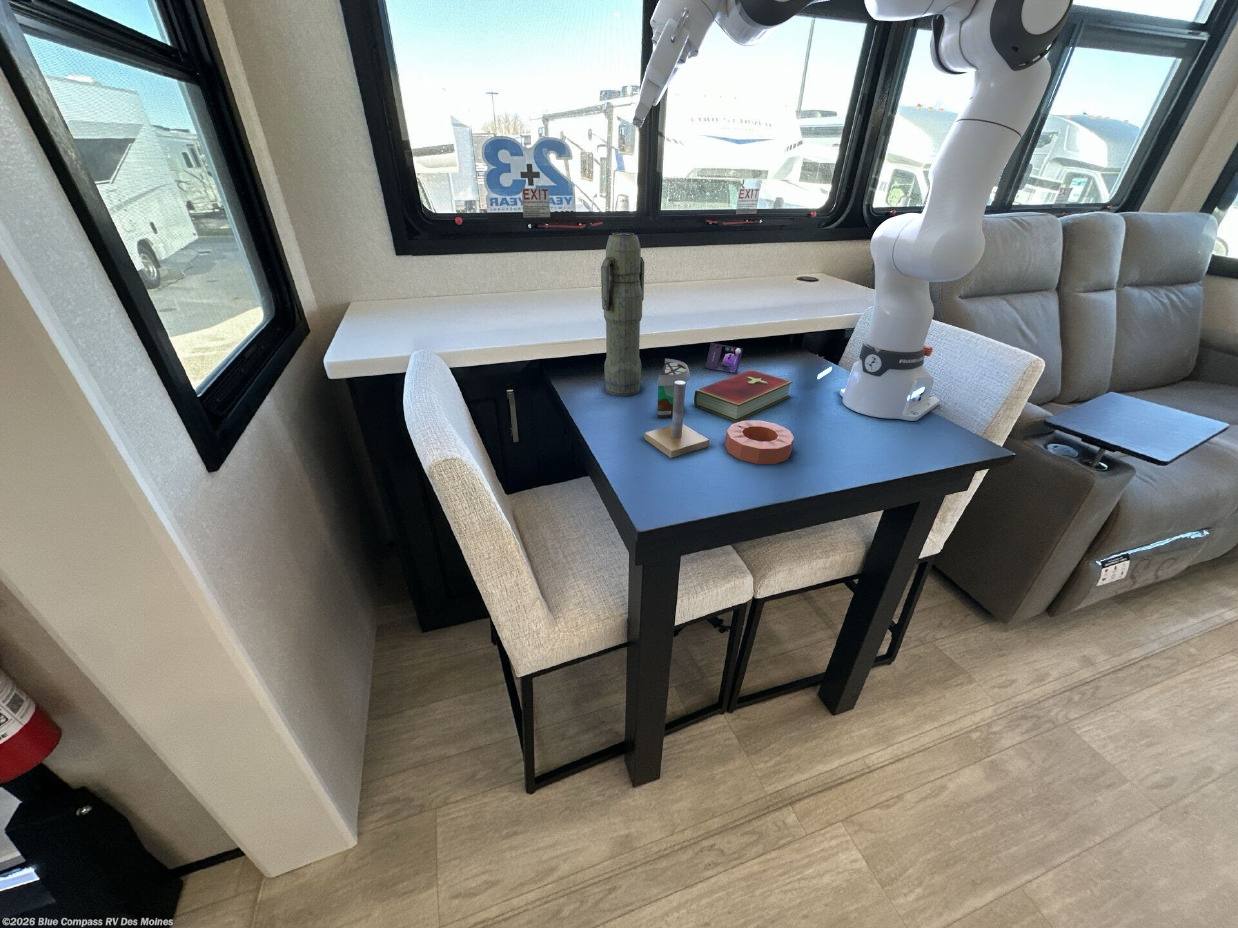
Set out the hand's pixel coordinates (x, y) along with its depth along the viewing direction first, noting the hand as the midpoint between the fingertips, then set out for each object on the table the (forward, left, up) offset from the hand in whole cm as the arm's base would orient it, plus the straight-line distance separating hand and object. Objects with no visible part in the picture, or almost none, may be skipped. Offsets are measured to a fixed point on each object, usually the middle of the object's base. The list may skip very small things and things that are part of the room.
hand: (637, 122), depth 81 cm
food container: (-8, +4, -53) cm, 54 cm away
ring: (-11, +27, -53) cm, 61 cm away
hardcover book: (-25, +8, -53) cm, 60 cm away
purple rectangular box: (-37, -12, -53) cm, 66 cm away
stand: (+1, +17, -53) cm, 56 cm away
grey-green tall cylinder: (-5, -13, -53) cm, 55 cm away
